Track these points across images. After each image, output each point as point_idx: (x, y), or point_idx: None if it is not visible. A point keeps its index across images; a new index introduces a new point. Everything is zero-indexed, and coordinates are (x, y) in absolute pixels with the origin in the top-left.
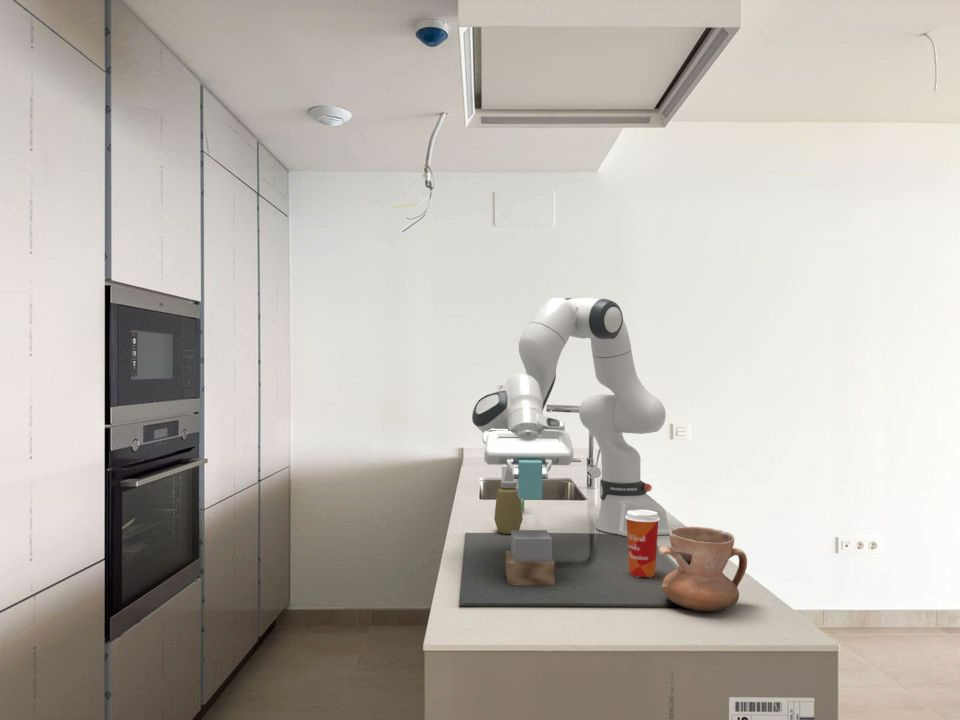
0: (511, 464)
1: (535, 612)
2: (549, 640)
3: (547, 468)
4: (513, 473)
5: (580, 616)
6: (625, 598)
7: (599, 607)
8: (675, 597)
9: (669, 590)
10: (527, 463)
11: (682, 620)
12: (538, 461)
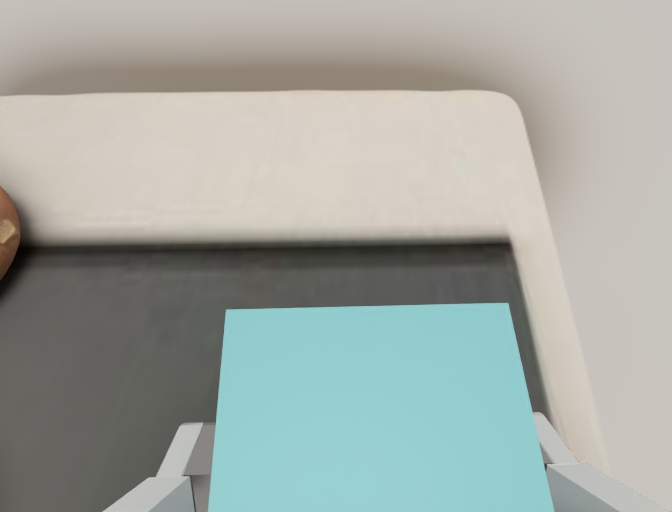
0: (624, 506)
1: (341, 212)
2: (327, 103)
3: (154, 477)
4: (535, 414)
5: (250, 194)
6: (106, 301)
7: (194, 242)
8: (14, 206)
9: (11, 214)
10: (410, 307)
11: (49, 179)
12: (260, 416)
